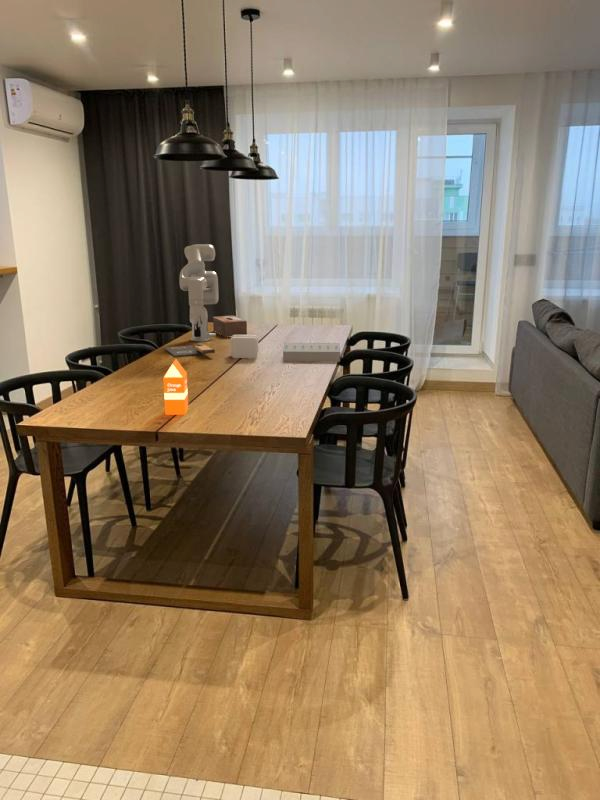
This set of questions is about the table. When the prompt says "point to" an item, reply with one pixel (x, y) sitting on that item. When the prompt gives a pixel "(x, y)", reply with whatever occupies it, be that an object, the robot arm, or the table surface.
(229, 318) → the tissue box cover
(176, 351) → the label panel
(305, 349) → the warehouse
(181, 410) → the orange juice
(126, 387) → the table surface
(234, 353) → the cable organizer
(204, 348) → the swing arm
